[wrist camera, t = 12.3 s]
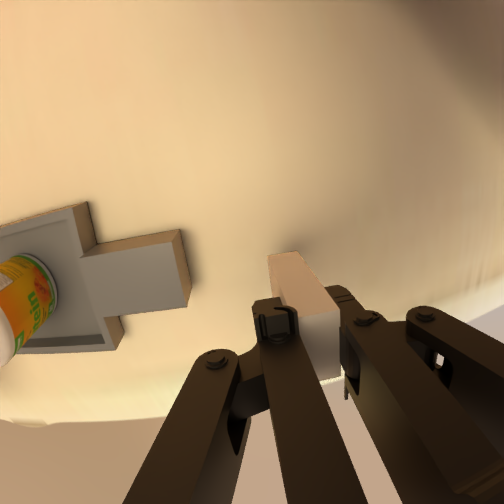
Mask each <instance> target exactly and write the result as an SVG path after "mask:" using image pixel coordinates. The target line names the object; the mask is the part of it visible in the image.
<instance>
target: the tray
mask: <svg viewBox="0 0 504 504" xmlns="http://www.w3.org/2000/svg"><path fill="white" fill-rule="evenodd" d="M18 254H27V255H31V256H33V257H35V258H37V259H38V260H39V261H41V262H42V263H43V264H44V265H45V266H46V268H47V269H48V270H49V272H50V274H51V275H52V277H53V280H54V282H55V285H56V290H57V304H56V308H55V310H54V312H53V313H52V315H51V316H50V317H49V318H48V319H47V320H46V321H45V322H44V323H43V324H42V325H41V326H40V327H39V329H38V330H37V331H36V332H35V333H34V334H33V335H32V336H31V337H30V338H29V339H28V340H27V342H26V343H25V344H24V345H23V346H22V347H21V348H20V349H19V350H18V352H17V353H16V354H54V353H80V352H98V351H113V350H116V349H117V347H118V345H119V343H120V341H121V339H122V337H123V335H124V332H123V329H122V326H121V323H120V320H119V317H118V316H121V315H129V314H138V313H146V312H154V311H162V310H169V309H177V308H184V307H187V304H188V300H189V297H190V293H191V289H192V285H191V280H190V276H189V271H188V267H187V262H186V258H185V253H184V248H183V244H182V239H181V234H180V229H179V230H173V231H167V232H162V233H156V234H151V235H145V236H140V237H134V238H129V239H124V240H118V241H113V242H108V243H103V244H98V245H97V243H96V240H95V235H94V231H93V227H92V223H91V219H90V214H89V210H88V205H87V202H83V203H79V204H75V205H72V206H68V207H64V208H60V209H57V210H53V211H49V212H46V213H42V214H39V215H35V216H32V217H29V218H25V219H22V220H19V221H15V222H12V223H9V224H6V225H3V226H0V263H2V262H4V261H5V260H7V259H9V258H11V257H13V256H15V255H18Z"/></svg>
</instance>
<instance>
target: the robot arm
mask: <svg viewBox="0 0 504 504" xmlns="http://www.w3.org/2000/svg"><path fill="white" fill-rule="evenodd" d="M267 259H268V266H269V273H270V281H271V288H272V295H273V298H268V299H263V300H257V301H255V303H254V304H253V306H252V312H253V318H254V324H255V330H256V336H257V343H256V345H255V346H254V347H253V349H251V350H250V351H248V352H246V353H244V354H242V355H239V356H237V354H236V353H235V352H233V351H231V350H227V349H215V350H211V351H208V352H205V353H204V354H202V355H201V356H199V357H198V359H197V360H196V361H195V363H194V365H193V367H192V369H191V371H190V373H189V374H188V376H187V378H186V380H185V382H184V384H183V386H182V388H181V390H180V392H179V394H178V396H177V398H176V400H175V402H174V404H173V406H172V408H171V410H170V412H169V414H168V415H167V417H166V420H165V421H164V423H163V425H162V427H161V429H160V431H159V433H158V435H157V437H156V439H155V441H154V443H153V445H152V447H151V449H150V451H149V453H148V455H147V457H146V458H145V461H144V462H143V464H142V467H141V468H140V470H139V472H138V474H137V476H136V478H135V480H134V482H133V484H132V486H131V488H130V490H129V492H128V494H127V496H126V498H125V500H124V501H123V503H122V504H231V503H232V499H233V495H234V491H235V487H236V483H237V479H238V475H239V471H240V467H241V463H242V459H243V455H244V450H245V446H246V442H247V438H248V434H249V429H250V424H251V416H253V415H256V414H258V413H260V412H263V411H265V410H268V409H270V414H271V420H272V425H273V430H274V436H275V441H276V446H277V452H278V457H279V462H280V467H281V472H282V478H283V483H284V488H285V493H286V498H287V503H288V504H368V502H367V499H366V497H365V494H364V492H363V489H362V487H361V484H360V481H359V479H358V476H357V474H356V471H355V469H354V466H353V464H352V461H351V459H350V456H349V454H348V452H347V449H346V446H345V444H344V441H343V439H342V436H341V434H340V431H339V429H338V426H337V424H336V422H335V419H334V417H333V414H332V412H331V409H330V407H329V404H328V402H327V399H326V397H325V394H324V392H323V390H322V387H321V385H320V382H319V381H322V380H326V379H330V378H335V377H339V376H341V365H342V367H343V369H344V371H345V387H344V389H345V390H344V397H345V400H347V399H348V393H350V395H351V397H352V399H353V401H354V403H355V405H356V407H357V409H358V411H359V413H360V415H361V417H362V419H363V421H364V423H365V426H366V428H367V430H368V432H369V434H370V436H371V438H372V440H373V442H374V444H375V446H376V448H377V450H378V452H379V455H380V456H381V459H382V461H383V463H384V465H385V467H386V469H387V471H388V473H389V476H390V477H391V480H392V482H393V484H394V486H395V488H396V490H397V493H398V495H399V497H400V499H401V501H402V503H403V504H504V344H503V343H501V342H500V341H498V340H496V339H494V338H492V337H490V336H488V335H487V334H484V333H483V332H481V331H479V330H477V329H475V328H473V327H471V326H469V325H467V324H466V323H464V322H462V321H460V320H458V319H456V318H454V317H452V316H450V315H448V314H447V313H445V312H443V311H441V310H439V309H436V308H434V307H429V306H418V307H415V308H412V309H411V310H409V311H408V312H407V315H406V321H396V322H388V321H387V320H386V319H385V318H384V317H383V316H382V315H381V314H379V313H378V312H375V311H371V310H365V309H364V308H363V307H362V305H361V304H360V303H359V302H358V301H357V300H356V299H355V297H354V296H353V295H351V293H350V292H349V291H348V290H347V289H346V288H344V287H342V286H340V285H335V286H329V287H323V286H322V284H321V283H320V281H319V280H318V279H317V277H316V276H315V275H314V273H313V272H312V271H311V269H310V268H309V267H308V265H307V264H306V263H305V261H304V260H303V259H302V257H301V256H300V254H299V253H298V252H297V251H293V252H287V253H281V254H275V255H269V256H267ZM438 353H439V354H440V355H442V356H443V357H444V361H443V365H442V366H440V365H438V364H437V363H436V360H437V355H438Z"/></svg>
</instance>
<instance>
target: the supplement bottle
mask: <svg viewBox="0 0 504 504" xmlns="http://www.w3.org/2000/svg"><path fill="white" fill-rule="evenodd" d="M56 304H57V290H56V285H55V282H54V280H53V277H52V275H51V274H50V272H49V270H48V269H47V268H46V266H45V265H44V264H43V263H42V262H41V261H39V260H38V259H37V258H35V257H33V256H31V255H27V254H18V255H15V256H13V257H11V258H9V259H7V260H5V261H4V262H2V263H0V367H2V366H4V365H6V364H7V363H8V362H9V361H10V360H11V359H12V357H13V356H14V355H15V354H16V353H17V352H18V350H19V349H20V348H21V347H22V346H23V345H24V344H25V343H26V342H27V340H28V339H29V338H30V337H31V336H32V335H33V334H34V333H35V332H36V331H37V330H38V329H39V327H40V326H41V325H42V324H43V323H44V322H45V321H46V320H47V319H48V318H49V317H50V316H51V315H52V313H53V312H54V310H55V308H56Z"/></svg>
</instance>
